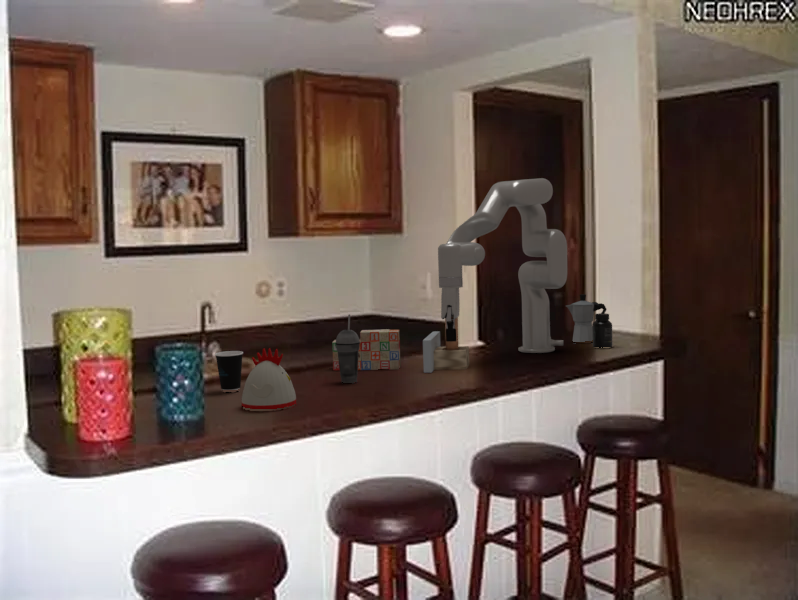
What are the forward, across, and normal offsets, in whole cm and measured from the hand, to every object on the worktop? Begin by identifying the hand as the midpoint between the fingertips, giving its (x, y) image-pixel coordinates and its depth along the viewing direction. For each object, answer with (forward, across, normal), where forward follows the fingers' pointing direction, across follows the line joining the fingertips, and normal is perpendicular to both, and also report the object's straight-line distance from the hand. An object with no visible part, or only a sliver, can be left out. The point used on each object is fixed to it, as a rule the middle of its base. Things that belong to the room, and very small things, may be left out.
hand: (452, 339), depth 264 cm
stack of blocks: (+9, +2, -27) cm, 29 cm away
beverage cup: (+9, +27, -27) cm, 39 cm away
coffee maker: (+8, -54, +44) cm, 70 cm away
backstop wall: (+9, 0, -6) cm, 11 cm away
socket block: (+9, 0, 0) cm, 9 cm away
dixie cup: (+9, +41, -58) cm, 72 cm away
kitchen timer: (+9, +60, -40) cm, 73 cm away
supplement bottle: (+8, -40, +49) cm, 64 cm away
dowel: (+5, 0, 0) cm, 5 cm away
